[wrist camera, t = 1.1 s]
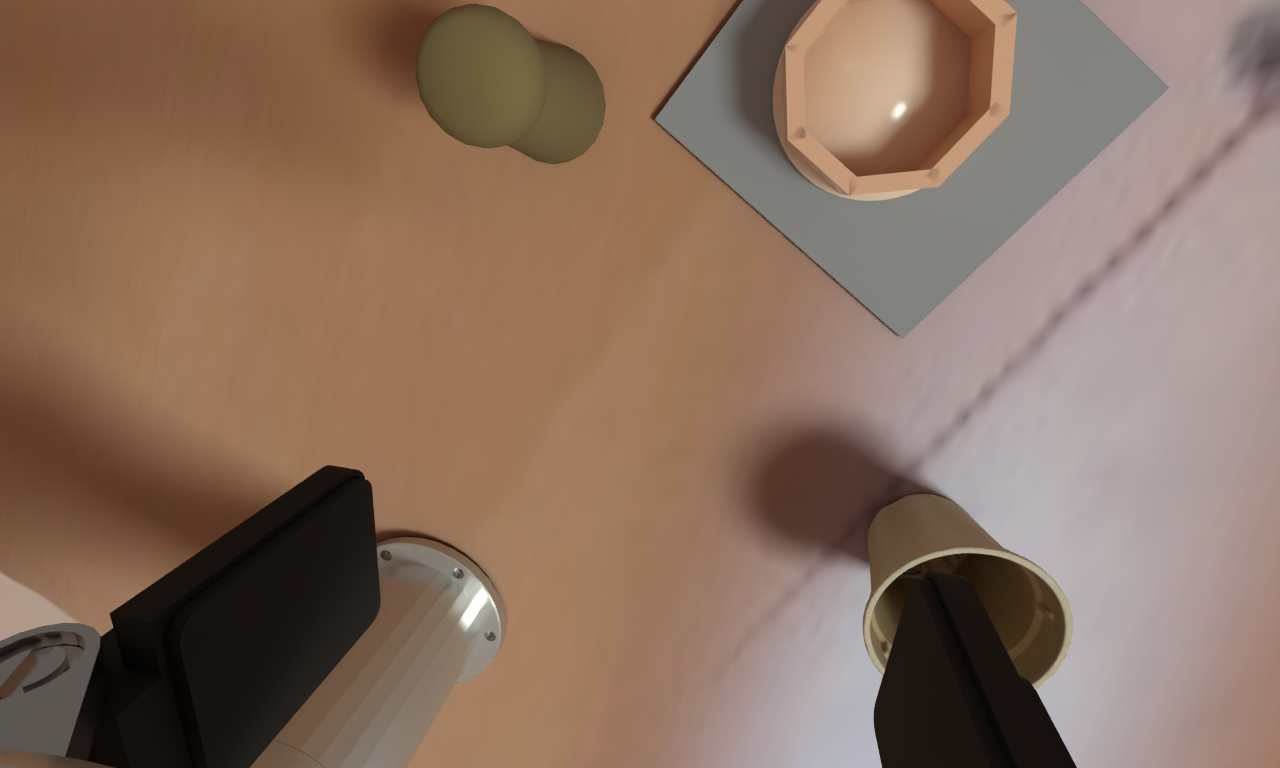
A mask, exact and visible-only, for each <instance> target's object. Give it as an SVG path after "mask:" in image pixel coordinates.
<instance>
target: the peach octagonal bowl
mask: <svg viewBox="0 0 1280 768" xmlns="http://www.w3.org/2000/svg"><path fill="white" fill-rule="evenodd" d="M1016 23H1017V12H1016V11H1015V10H1014V9H1013V8H1012V7H1011V6H1010V5H1009V4H1008V3H1006V2H1005V1H1004V0H817V1H816V2H815V3H814V4H813V5H812V6H811V7H810V8H809V9H808V10H807V12H806V13H805V14H804V15H803V16H802V18H801V19H800V20H799V22H798V23H797V25H796V26H795V28H794V29H793V31H792V33H791V34H790V36H789V38H788V40H787V42H786V44H785V46H784V49H783V51H782V54H781V56H780V59H779V63H778V66H777V70H776V74H775V79H774V86H773V102H772V106H773V116H774V122H775V127H776V131H777V134H778V137H779V140H780V143H781V145H782V147H783V149H784V151H785V153H786V155H787V157H788V158H789V159H790V161H791V162H792V164H793V165H794V166H795V168H796V169H797V170H798V171H799V172H800V173H801V174H802V175H803V176H804V177H805V178H806V179H808V180H809V181H810V182H812V183H813V184H814V185H816V186H817V187H819V188H821V189H823V190H824V191H826V192H829V193H831V194H834V195H836V196H840V197H844V198H848V199H852V200H862V201H880V200H887V199H893V198H897V197H900V196H904V195H907V194H910V193H912V192H915V191H917V190H919V189H922V188H933V187H939V186H940V185H941V184H942V183H943V182H944V181H945V180H946V179H947V178H948V177H949V176H950V175H951V174H952V173H953V172H954V171H955V170H956V169H957V168H958V166H959V165H960V164H961V163H962V162H963V161H964V160H965V159H966V158H967V157H968V156H969V155H970V154H971V153H972V152H973V151H974V150H975V149H976V148H977V147H978V146H979V145H980V144H981V143H982V142H983V141H984V140H985V139H986V138H987V137H988V136H989V135H990V134H991V133H992V132H993V131H994V130H995V129H996V128H997V126H998V125H999V124H1000V123H1001V122H1002V121H1003V120H1004V119H1005V118H1006V117H1007V116H1008V115H1009V114H1010V101H1011V88H1012V75H1013V62H1014V49H1015V36H1016Z"/></svg>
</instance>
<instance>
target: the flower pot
mask: <svg viewBox="0 0 1280 768" xmlns="http://www.w3.org/2000/svg"><path fill="white" fill-rule="evenodd" d="M868 550H869V560H870V576H871V594H870V597H869V600H868V602H867V604H866V608H865V612H864V616H863V636H864V642H865V646H866V649H867V652H868V654H869V656H870V658H871V660H872V662H873V664H874V665H875V666H876V668H877V669H878V671H879V672H880V673H881V674H882V675H884V672H885V668H886V665H887V661H888V658H889V654H890V651H891V647H892V644H893V641H894V637H895V634H896V630H897V627H898V623H899V620H900V616H901V613H902V610H903V606H904V603H905V599H906V596H907V592H908V589H909V585H910V583H911V581H912V579H913V578H920V579H923V577H924V575H925V574H926V572H928V571H934V572H940V573H945V574H951V575H957V576H963V577H966V578H969V580H970V581H971V582H972V584H973V586H974V588H975V590H976V592H977V594H978V596H979V598H980V600H981V602H982V604H983V606H984V608H985V610H986V612H987V614H988V616H989V617H990V619H991V621H992V623H993V625H994V627H995V629H996V631H997V633H998V635H999V637H1000V639H1001V641H1002V643H1003V645H1004V647H1005V649H1006V651H1007V653H1008V655H1009V656H1010V658H1011V660H1012V662H1013V664H1014V666H1015V668H1016V670H1017V672H1018V674H1019V676H1021V677H1024V678H1025V679H1027V680H1028V681H1030V683H1031V684H1032V686H1033V687H1034V689H1037V688H1039V687H1040V686H1041V685H1043V684H1044V683H1045V682H1046V681H1047V680H1048V679H1049V678H1050V677H1051V676H1053V674H1054V673H1055V672H1056V671H1057V669H1059V667H1060V665H1061V663H1062V662H1063V660H1064V659H1065V656H1067V652H1068V649H1069V646H1070V643H1071V638H1072V630H1073V621H1072V614H1071V610H1070V607H1069V604H1068V601H1067V598H1066V597H1065V595H1064V593H1063V592H1062V590H1061V588H1060V587H1059V586H1058V584H1057V583H1056V582H1055V581H1054V579H1053V578H1052V577H1051V576H1050V575H1048V574H1047V573H1046V572H1045V571H1044V570H1043V569H1042V568H1040V567H1039V566H1037V565H1036V564H1035V563H1033V562H1031V561H1030V560H1028V559H1026V558H1024V557H1022V556H1020V555H1018V554H1015V553H1013V552H1011V551H1009V550H1007V549H1005V548H1003V547H1002V546H1001V545H1000V544H999V543H997V542H996V541H995V540H994V539H993V538H992V537H991V536H990V535H989V534H988V533H987V532H986V531H985V530H984V529H983V528H982V527H981V526H980V525H979V524H978V523H977V522H976V521H975V520H973V519H972V518H971V516H970V515H969V514H968V513H967V512H966V511H965V510H964V509H963V508H961V507H960V506H959V505H958V504H956V503H955V502H953V501H951V500H949V499H946V498H943V497H940V496H937V495H931V494H914V495H908V496H905V497H903V498H901V499H900V500H898V501H896V502H894V503H892V504H890V505H888V506H886V507H883V508H882V509H881V510H880V511H879V512H878V513H877V515H876V516H875V518H874V519H873V521H872V523H871V525H870V527H869V531H868ZM960 553H961V554H960ZM957 554H960V555H957ZM908 569H915V570H919V571H920V573H914V574H912V573H904V572H905V571H906V570H908Z"/></svg>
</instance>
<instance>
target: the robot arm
mask: <svg viewBox="0 0 1280 768" xmlns="http://www.w3.org/2000/svg"><path fill="white" fill-rule="evenodd" d="M110 616H111V620H112V624H113V627H114V628H113V629H111V630H110V631H109V632H107V633H106V634H104V635H103V636H102V637H101V636H100V634H99V633H98V632H97V631H96V630H95V629H94V628H93V627H90V626H87V625H84V624H80V623H61V624H55V625H48V626H42V627H38V628H35V629H31V630H28V631H25V632H21V633H18V634H16V635H14V636H11V637H9V638H7V639H4V640H2V641H0V768H407V766H408V764H409V763H410V761H411V759H412V757H413V756H414V754H415V752H416V751H417V749H418V747H419V745H420V744H421V742H422V740H423V739H424V737H425V735H426V733H427V732H428V730H429V728H430V727H431V725H432V723H433V721H434V720H435V718H436V716H437V715H438V713H439V711H440V709H441V708H442V706H443V704H444V702H445V701H446V699H447V697H448V696H449V694H450V692H451V690H452V689H453V687H454V685H455V684H457V683H461V682H465V681H467V680H470V679H472V678H474V677H476V676H478V675H479V674H480V673H482V672H483V671H484V670H485V669H487V667H488V666H489V665H490V664H491V662H492V661H493V660H494V658H495V656H496V654H497V653H498V651H499V649H500V647H501V644H502V641H503V637H504V634H505V617H504V611H503V606H502V604H501V601H500V598H499V596H498V593H497V592H496V590H495V588H494V587H493V585H492V583H491V582H490V580H489V579H488V578H487V577H486V575H485V574H484V573H483V572H482V571H481V570H480V568H479V567H477V566H476V565H475V564H474V563H473V562H472V561H470V560H469V559H468V558H467V557H465V556H464V555H462V554H461V553H459V552H457V551H456V550H454V549H452V548H450V547H448V546H446V545H443V544H441V543H439V542H436V541H432V540H428V539H424V538H416V537H399V538H391V539H388V540H385V541H382V542H379V543H377V544H376V533H375V520H374V508H373V495H372V486H371V483H370V482H369V481H368V480H365V477H364V475H363V473H362V472H361V471H359V470H355V469H349V468H343V467H338V466H332V465H327V466H325V467H323V468H321V469H320V470H318V471H317V472H315V473H314V474H312V475H311V476H310V477H308V478H307V479H305V480H304V481H302V482H301V483H299V484H298V485H296V486H295V487H294V488H292V489H291V490H289V491H288V492H286V493H285V494H283V495H282V496H280V497H279V498H277V499H276V500H275V501H273V502H272V503H270V504H269V505H267V506H266V507H264V508H263V509H261V510H260V511H258V512H257V513H256V514H254V515H253V516H251V517H250V518H248V519H247V520H245V521H244V522H242V523H241V524H240V525H238V526H237V527H235V528H234V529H232V530H231V531H229V532H228V533H226V534H225V535H223V536H222V537H221V538H219V539H218V540H216V541H215V542H213V543H212V544H210V545H209V546H207V547H206V548H205V549H203V550H202V551H200V552H199V553H197V554H196V555H194V556H193V557H191V558H190V559H188V560H187V561H186V562H184V563H183V564H181V565H180V566H178V567H177V568H175V569H174V570H172V571H171V572H169V573H168V574H167V575H165V576H164V577H162V578H161V579H159V580H158V581H156V582H155V583H153V584H152V585H151V586H149V587H148V588H146V589H145V590H143V591H142V592H140V593H139V594H137V595H136V596H134V597H133V598H132V599H130V600H129V601H127V602H126V603H124V604H123V605H121V606H120V607H118V608H117V609H116V610H114V611H113V612H111V613H110ZM874 729H875V734H876V739H877V744H878V749H879V754H880V758H881V763H882V768H1077V767H1076V765H1075V763H1074V761H1073V760H1072V758H1071V756H1070V754H1069V752H1068V750H1067V748H1066V746H1065V744H1064V743H1063V741H1062V739H1061V737H1060V735H1059V733H1058V731H1057V729H1056V727H1055V726H1054V724H1053V722H1052V720H1051V718H1050V716H1049V714H1048V712H1047V710H1046V709H1045V707H1044V705H1043V703H1042V701H1041V699H1040V697H1039V695H1038V693H1037V692H1036V690H1035V689H1034V687H1033V686H1032V684H1031V683H1030V681H1028V680H1027V679H1025V678H1024V677H1021V676H1019V674H1018V672H1017V670H1016V668H1015V666H1014V664H1013V662H1012V660H1011V658H1010V656H1009V655H1008V653H1007V651H1006V649H1005V647H1004V645H1003V643H1002V641H1001V639H1000V637H999V635H998V633H997V631H996V629H995V627H994V625H993V623H992V621H991V619H990V617H989V616H988V614H987V612H986V610H985V608H984V606H983V604H982V602H981V600H980V598H979V596H978V594H977V592H976V590H975V588H974V586H973V584H972V582H971V581H970V580H969V578H966V577H963V576H957V575H951V574H945V573H940V572H934V571H928V572H926V574H925V575H924V577H923V579H920V578H913V579H912V581H911V583H910V585H909V589H908V592H907V596H906V599H905V603H904V606H903V610H902V613H901V616H900V620H899V623H898V627H897V630H896V634H895V637H894V641H893V644H892V647H891V651H890V654H889V658H888V661H887V665H886V668H885V672H884V675H883V678H882V682H881V685H880V689H879V692H878V696H877V699H876V703H875V708H874Z"/></svg>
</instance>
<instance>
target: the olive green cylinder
mask: <svg viewBox="0 0 1280 768" xmlns="http://www.w3.org/2000/svg"><path fill="white" fill-rule="evenodd" d="M416 80H417V84H418V89H419V93H420V98H421V100H422V101H423V103H424V105H425V107H426V109H427V111H428V113H429V115H430V117H431V118H432V119H433V120H434V121H435V122H436V123H437V124H438V125H439V126H440V127H441V128H442V129H443V130H444V131H445V132H446V133H447V134H448V135H450V136H452V137H454V138H455V139H457V140H459V141H461V142H462V143H464V144H467V145H472V146H477V147H482V148H494V147H500V146H506V145H509V146H510V147H512V148H514V149H516V150H518V151H520V152H521V153H523V154H525V155H527V156H529V157H531V158H532V159H534V160H536V161H539V162H545V163H550V164H557V163H563V162H569V161H571V160H573V159H575V158H577V157H578V156H580V155H582V154H584V153H585V152H586V150H587V149H588V148H589V147H590V146H591V145H592V144H593V143H594V142H595V140H596V138H597V136H598V134H599V132H600V130H601V127H602V125H603V120H604V113H605V106H606V105H605V98H604V91H603V86H602V83H601V81H600V79H599V77H598V75H597V72H596V70H595V69H594V67H593V66H592V65H591V64H590V63H589V62H588V61H587V59H586V58H585V57H584V56H583V55H582V54H580V53H578V52H576V51H575V50H573V49H571V48H569V47H568V46H564V45H559V44H554V43H549V42H545V41H540V40H535V39H534V38H533V37H532V36H531V35H530V34H529V32H528V31H527V30H526V29H525V28H524V27H523V26H522V25H521V24H520V22H519V21H517V20H516V19H515V18H513V17H511V16H510V15H508V14H506V13H504V12H503V11H501V10H499V9H497V8H496V7H490V6H484V5H478V4H468V5H464V6H459V7H455V8H451V9H449V10H448V11H446V12H445V13H443V14H442V15H441V16H439V17H438V18H436V19H435V20H434V21H433V23H432V24H431V26H430V27H429V28H428V30H427V31H426V32H425V34H424V35H423V38H422V41H421V44H420V47H419V50H418V53H417V61H416Z"/></svg>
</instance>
